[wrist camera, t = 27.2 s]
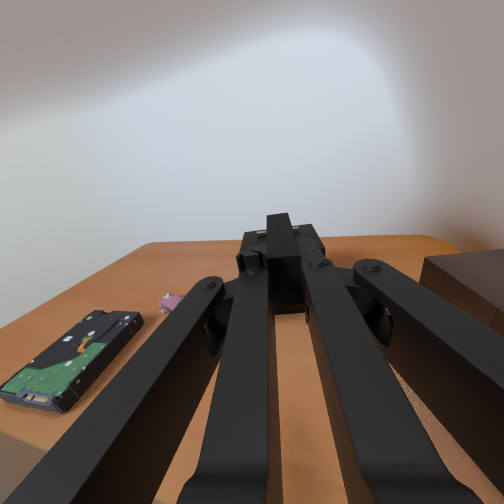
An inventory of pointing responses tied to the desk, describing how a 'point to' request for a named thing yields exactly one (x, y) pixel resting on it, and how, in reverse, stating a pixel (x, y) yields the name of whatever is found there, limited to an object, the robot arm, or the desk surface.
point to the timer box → (469, 283)
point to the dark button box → (260, 238)
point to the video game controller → (169, 302)
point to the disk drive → (71, 362)
